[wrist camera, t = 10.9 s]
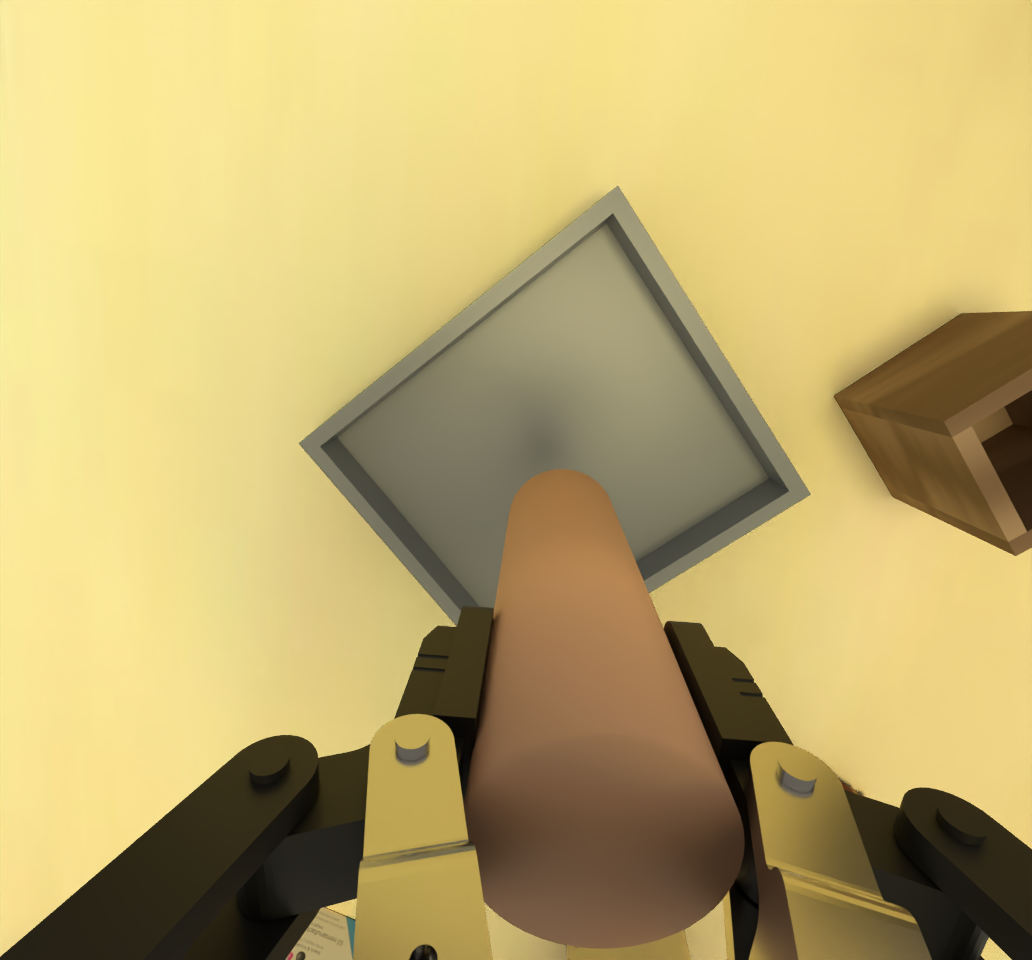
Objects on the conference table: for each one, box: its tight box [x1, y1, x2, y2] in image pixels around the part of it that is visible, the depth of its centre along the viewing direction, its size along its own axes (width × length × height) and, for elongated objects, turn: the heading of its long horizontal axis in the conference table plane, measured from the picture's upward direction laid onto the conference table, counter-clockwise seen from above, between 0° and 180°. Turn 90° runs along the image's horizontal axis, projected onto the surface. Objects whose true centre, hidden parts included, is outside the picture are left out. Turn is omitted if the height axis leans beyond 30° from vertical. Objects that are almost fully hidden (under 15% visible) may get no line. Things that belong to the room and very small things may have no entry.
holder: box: [834, 311, 1032, 556], centre depth 24 cm, size 7×7×8 cm
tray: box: [299, 186, 811, 626], centre depth 28 cm, size 18×20×3 cm
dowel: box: [463, 469, 745, 949], centre depth 14 cm, size 4×4×13 cm
